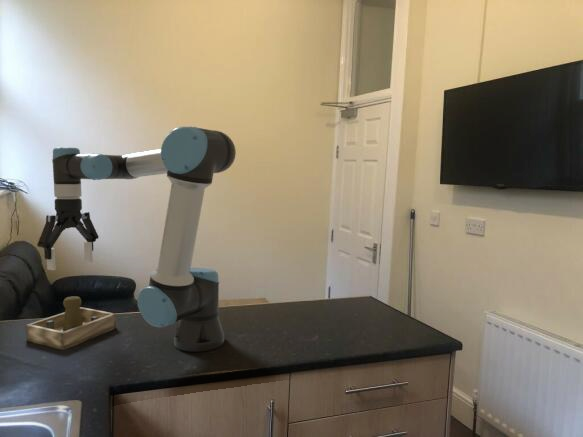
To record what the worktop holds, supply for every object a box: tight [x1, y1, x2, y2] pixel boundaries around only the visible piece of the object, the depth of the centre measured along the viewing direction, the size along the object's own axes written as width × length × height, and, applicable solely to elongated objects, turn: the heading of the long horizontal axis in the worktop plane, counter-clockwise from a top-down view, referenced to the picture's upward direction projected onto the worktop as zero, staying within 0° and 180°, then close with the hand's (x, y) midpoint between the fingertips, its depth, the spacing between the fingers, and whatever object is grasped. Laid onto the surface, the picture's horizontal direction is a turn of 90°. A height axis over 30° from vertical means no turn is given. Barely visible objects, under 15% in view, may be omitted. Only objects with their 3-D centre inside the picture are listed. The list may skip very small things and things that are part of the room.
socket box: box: [25, 306, 117, 351], centre depth 141 cm, size 16×20×5 cm
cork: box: [62, 295, 83, 332], centre depth 140 cm, size 6×6×11 cm
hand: (70, 265), depth 139 cm, fingers open, 13 cm apart
